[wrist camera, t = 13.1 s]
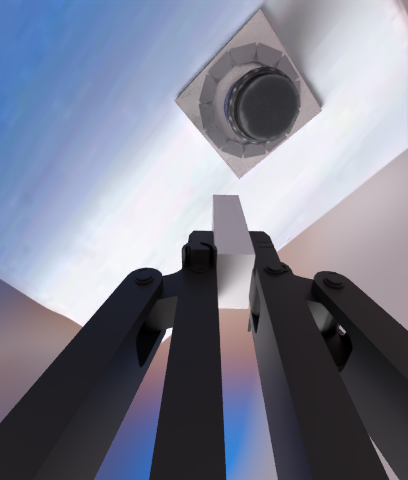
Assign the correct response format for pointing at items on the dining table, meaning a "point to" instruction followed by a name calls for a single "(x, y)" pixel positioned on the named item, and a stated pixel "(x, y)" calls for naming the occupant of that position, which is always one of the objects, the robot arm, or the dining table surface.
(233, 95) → the pill bottle
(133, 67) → the dining table surface
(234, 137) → the hub plate
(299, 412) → the robot arm
